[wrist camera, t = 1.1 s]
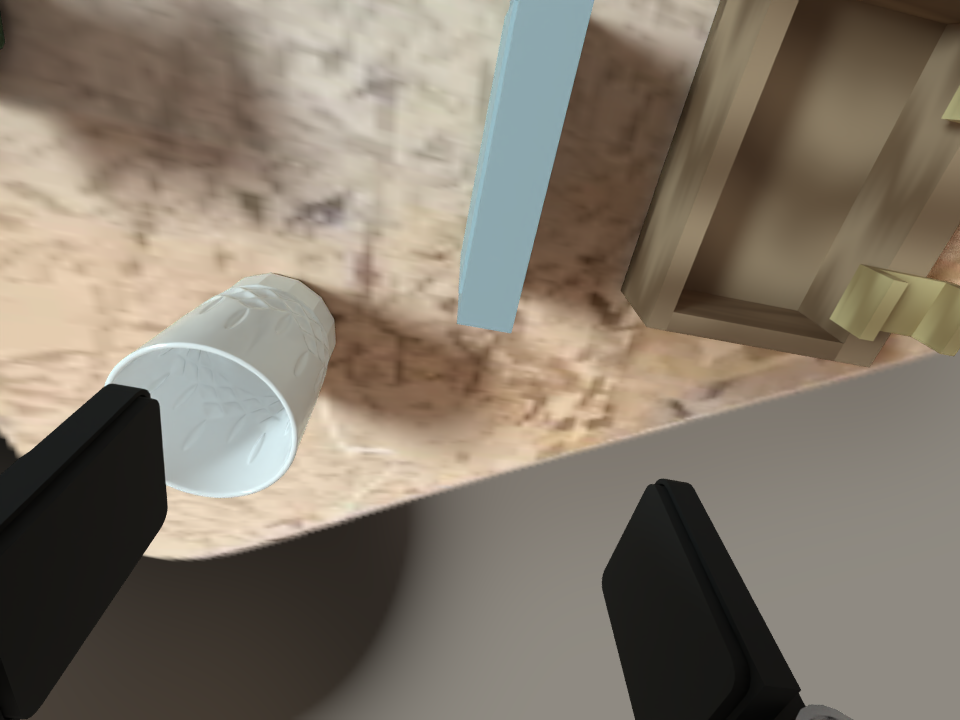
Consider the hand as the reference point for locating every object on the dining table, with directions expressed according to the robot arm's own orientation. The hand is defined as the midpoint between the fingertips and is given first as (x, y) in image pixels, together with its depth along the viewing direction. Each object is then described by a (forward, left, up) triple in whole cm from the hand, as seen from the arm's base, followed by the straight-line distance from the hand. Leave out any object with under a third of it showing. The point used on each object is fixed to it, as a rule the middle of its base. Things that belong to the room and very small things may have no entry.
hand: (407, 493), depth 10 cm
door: (-4, +2, -21) cm, 21 cm away
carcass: (-6, +16, -20) cm, 27 cm away
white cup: (+8, -9, -21) cm, 24 cm away
